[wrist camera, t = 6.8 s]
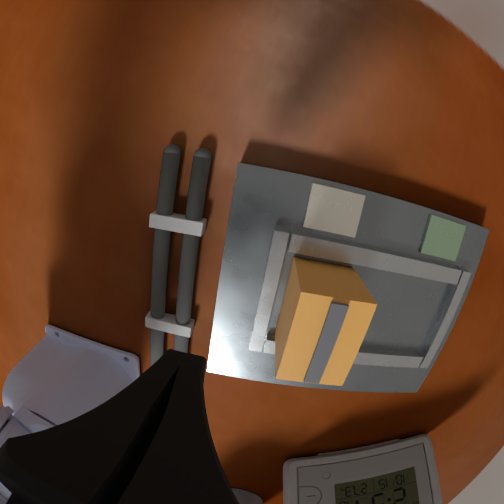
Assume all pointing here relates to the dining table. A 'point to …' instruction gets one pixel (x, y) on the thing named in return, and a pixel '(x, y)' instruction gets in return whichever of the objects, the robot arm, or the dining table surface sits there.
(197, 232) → the cable bundle
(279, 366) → the cardboard box
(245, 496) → the pillar candle
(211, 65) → the dining table surface
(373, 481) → the digital clock
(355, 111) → the dining table surface
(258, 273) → the grey metal tray
